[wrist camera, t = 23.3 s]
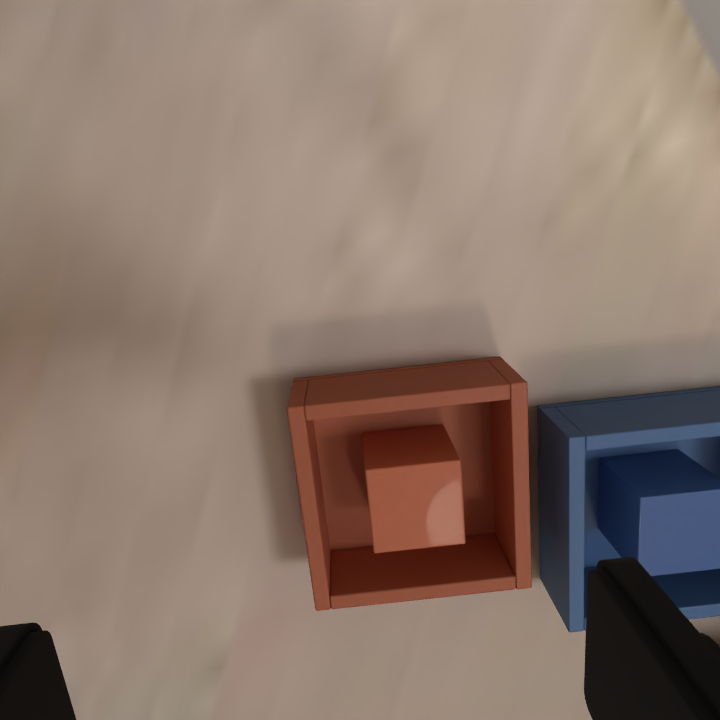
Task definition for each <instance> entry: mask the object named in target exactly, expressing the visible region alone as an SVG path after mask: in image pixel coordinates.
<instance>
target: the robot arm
mask: <svg viewBox="0 0 720 720" xmlns="http://www.w3.org/2000/svg"><path fill="white" fill-rule="evenodd" d="M584 694H585V700H586V704H587V707H588V710H589V712H590V715H591V717H592V719H593V720H720V646H719V645H718V644H717V643H716V642H715V641H714V640H713V639H711V638H710V637H709V636H707V635H705V634H703V633H699V632H698V631H697V630H696V628H695V627H694V626H693V625H692V624H691V623H690V621H689V620H688V619H687V618H686V617H685V615H684V614H683V613H682V612H681V611H680V610H679V608H678V607H677V606H676V605H675V604H674V603H673V601H672V600H671V599H670V598H669V597H668V595H667V594H666V593H665V592H664V591H663V590H662V588H661V587H660V586H659V585H658V584H657V583H656V581H655V580H654V579H653V578H652V577H651V575H650V574H649V573H648V572H647V571H646V570H645V568H644V567H643V566H642V565H641V564H640V563H639V561H637V560H636V559H635V558H633V557H623V558H614V559H605V560H600V561H598V563H597V567H596V569H595V570H590V571H589V573H588V583H587V615H586V646H585V678H584ZM0 720H76V717H75V714H74V711H73V707H72V704H71V700H70V697H69V694H68V690H67V687H66V683H65V680H64V677H63V673H62V670H61V667H60V663H59V660H58V656H57V653H56V650H55V646H54V643H53V639H52V636H51V634H50V633H49V632H48V631H42V629H41V627H40V626H39V625H38V624H37V623H26V624H17V625H8V626H1V627H0Z"/></svg>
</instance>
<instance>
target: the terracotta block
mask: <svg viewBox="0 0 720 720" xmlns="http://www.w3.org/2000/svg"><path fill="white" fill-rule="evenodd" d="M362 446H363V456H364V467H365V476H366V486H367V495H368V504H369V514H370V523H371V532H372V542H373V551H374V553H383V552H392V551H401V550H411V549H420V548H429V547H438V546H448V545H457V544H464V543H465V524H464V507H463V489H462V471H461V460H460V458H459V456H458V454H457V452H456V449H455V447H454V445H453V443H452V441H451V439H450V437H449V435H448V433H447V430H446V428H445V426H444V425H433V426H424V427H414V428H405V429H396V430H386V431H377V432H367V433H362Z"/></svg>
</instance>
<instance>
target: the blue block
mask: <svg viewBox="0 0 720 720" xmlns="http://www.w3.org/2000/svg"><path fill="white" fill-rule="evenodd" d="M598 529H599V530H600V531H601V533H602V534H603V535H604V536H605V538H606V539H607V540H608V541H609V543H610V544H611V545H612V546H613V548H614V549H615V550H616V551H617V553H618V554H619V555H620V556H621V558H623V557H633V558H635V559H636V560H637V561H639V563H640V564H641V565H642V566H643V567H644V568H645V570H646V571H647V572H648V573H649V574H650V575H651V576H657V575H666V574H675V573H685V572H694V571H703V570H712V569H720V479H719V478H718V477H717V476H715V475H714V474H712V473H711V472H710V471H708V470H707V469H705V468H704V467H703V466H701V465H700V464H698V463H697V462H696V461H694V460H693V459H692V458H690V457H689V456H687V455H686V454H685V453H683V452H682V451H680V450H679V449H677V450H667V451H658V452H649V453H639V454H630V455H621V456H611V457H602V458H599V503H598Z"/></svg>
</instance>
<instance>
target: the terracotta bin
mask: <svg viewBox="0 0 720 720" xmlns="http://www.w3.org/2000/svg"><path fill="white" fill-rule="evenodd" d="M287 414H288V421H289V428H290V435H291V442H292V449H293V456H294V463H295V470H296V477H297V484H298V491H299V498H300V505H301V512H302V519H303V526H304V533H305V540H306V547H307V554H308V561H309V567H310V574H311V581H312V588H313V595H314V602H315V609H316V611H320V610H329V609H331V608H332V609H338V608H347V607H357V606H366V605H375V604H384V603H393V602H403V601H412V600H421V599H430V598H439V597H448V596H458V595H467V594H476V593H485V592H494V591H504V590H513V589H524V588H531V587H532V581H531V535H530V489H529V443H528V397H527V382H526V381H525V380H524V379H523V378H522V377H521V376H520V375H519V374H518V373H517V372H516V371H515V370H514V369H513V368H511V367H510V366H509V365H508V364H507V363H506V362H505V361H504V360H503V359H502V358H501V357H494V358H485V359H476V360H466V361H457V362H447V363H438V364H428V365H419V366H409V367H400V368H391V369H381V370H372V371H362V372H353V373H343V374H334V375H324V376H315V377H306V378H296V379H294V383H293V387H292V391H291V394H290V398H289V402H288V406H287ZM433 425H444V426H445V428H446V430H447V433H448V435H449V437H450V439H451V441H452V443H453V445H454V447H455V449H456V452H457V454H458V456H459V458H460V460H461V471H462V489H463V507H464V524H465V543H464V544H457V545H448V546H438V547H429V548H420V549H411V550H401V551H392V552H383V553H374V551H373V542H372V532H371V523H370V514H369V504H368V495H367V486H366V476H365V467H364V456H363V446H362V433H367V432H377V431H386V430H396V429H405V428H414V427H424V426H433Z"/></svg>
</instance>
